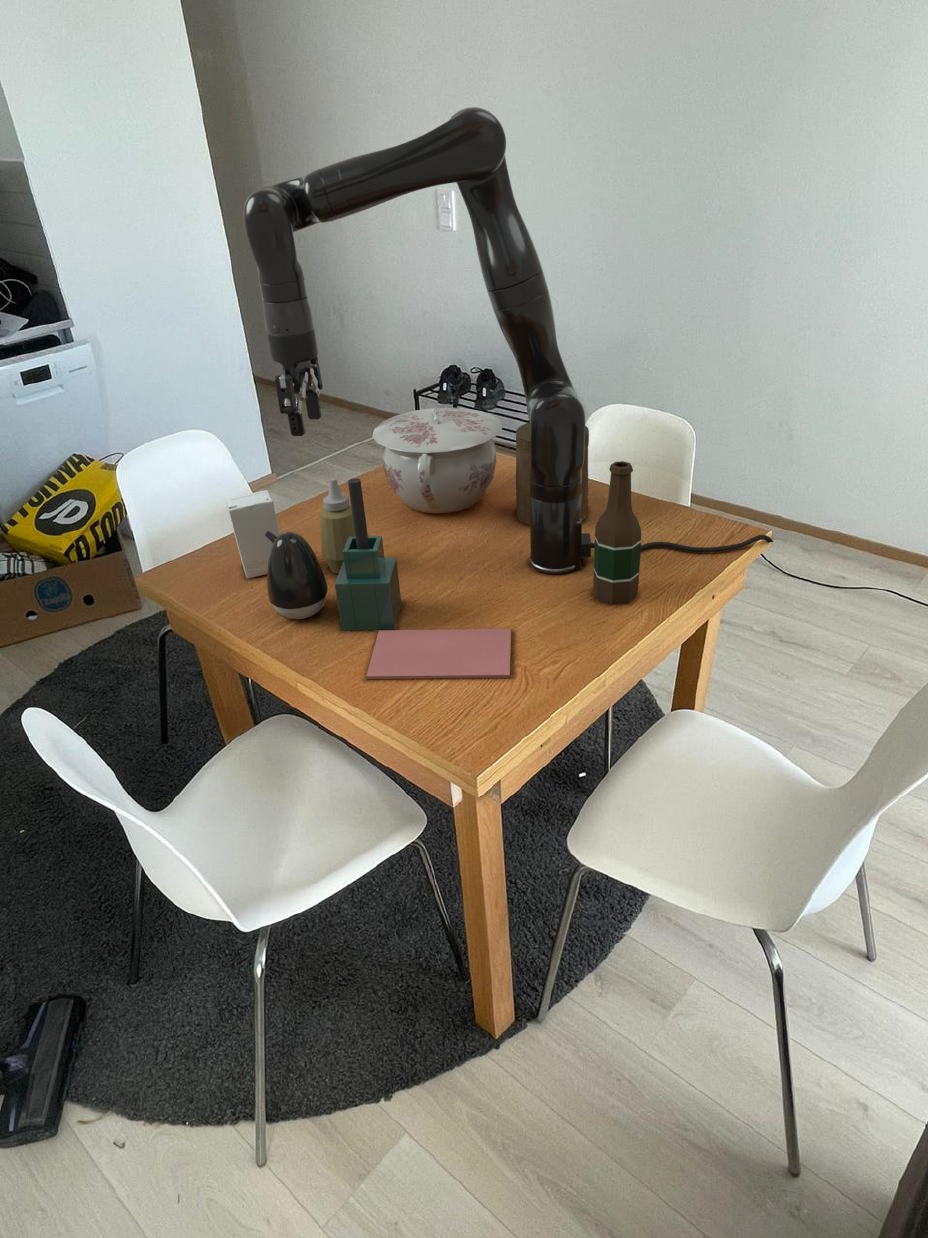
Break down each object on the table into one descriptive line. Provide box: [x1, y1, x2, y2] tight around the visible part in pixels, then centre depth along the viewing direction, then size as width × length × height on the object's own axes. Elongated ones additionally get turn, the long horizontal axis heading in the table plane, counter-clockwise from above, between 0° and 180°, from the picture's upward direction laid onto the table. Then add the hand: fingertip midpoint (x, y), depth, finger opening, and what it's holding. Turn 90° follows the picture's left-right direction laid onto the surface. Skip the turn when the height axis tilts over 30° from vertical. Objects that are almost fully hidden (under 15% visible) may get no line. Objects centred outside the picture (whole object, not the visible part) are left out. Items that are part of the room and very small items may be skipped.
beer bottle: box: [592, 460, 642, 606], centre depth 138 cm, size 8×8×24 cm
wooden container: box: [515, 422, 590, 526], centre depth 168 cm, size 15×15×22 cm
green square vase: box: [334, 535, 402, 631], centre depth 139 cm, size 9×9×14 cm
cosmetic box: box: [225, 489, 281, 580], centre depth 156 cm, size 8×6×15 cm
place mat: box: [365, 628, 512, 680], centre depth 131 cm, size 22×13×1 cm, turn 86°
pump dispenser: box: [265, 531, 329, 620], centre depth 141 cm, size 10×10×15 cm
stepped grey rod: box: [347, 477, 369, 549], centre depth 136 cm, size 2×3×25 cm
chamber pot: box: [372, 406, 503, 514], centre depth 177 cm, size 28×28×21 cm
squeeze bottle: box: [319, 477, 355, 574], centre depth 153 cm, size 8×8×18 cm
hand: (307, 426), depth 140 cm, fingers open, 8 cm apart
